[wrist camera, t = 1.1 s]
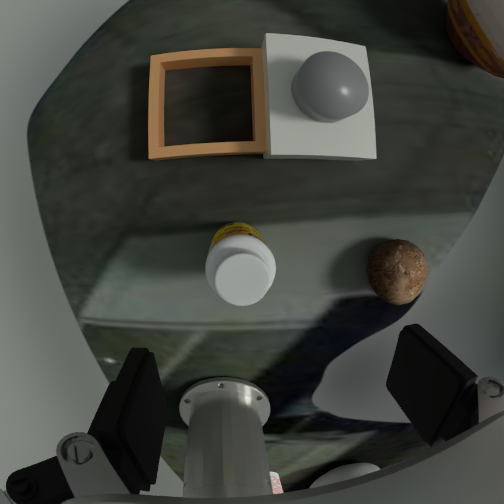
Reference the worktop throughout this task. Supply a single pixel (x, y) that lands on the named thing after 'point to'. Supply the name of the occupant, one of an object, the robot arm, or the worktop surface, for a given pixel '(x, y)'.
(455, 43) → the jug
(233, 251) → the supplement bottle
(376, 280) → the mushroom
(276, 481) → the beverage cup
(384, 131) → the worktop surface
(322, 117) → the open box with knob
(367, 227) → the worktop surface
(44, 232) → the worktop surface
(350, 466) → the cereal bowl
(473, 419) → the robot arm
